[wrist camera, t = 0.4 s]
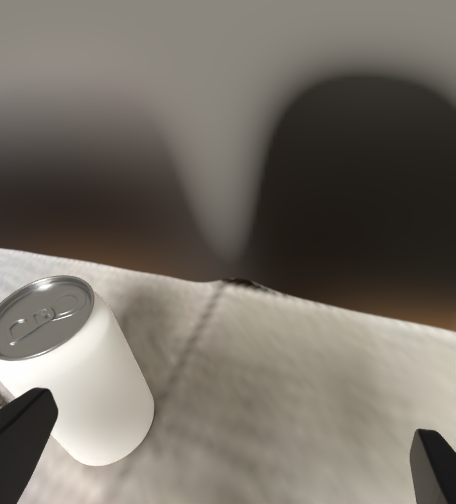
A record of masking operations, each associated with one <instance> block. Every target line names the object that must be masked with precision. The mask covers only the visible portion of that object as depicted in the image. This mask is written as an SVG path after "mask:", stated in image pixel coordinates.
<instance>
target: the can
mask: <svg viewBox="0 0 456 504" xmlns="http://www.w3.org/2000/svg"><path fill="white" fill-rule="evenodd" d="M0 381H1V382H2V384H3V385H4V386H5V387H6V388H7V389H8V390H9V391H10V392H11V393H12V394H13V395H14V396H15V397H16V398H18V397H19V396H21V395H22V394H24V393H25V392H27V391H29V390H30V389H32V388H35V387H40V388H48V389H49V390H51V392H52V394H53V397H54V399H55V402H56V404H57V407H58V418H57V421H56V423H55V425H54V427H53V430H52V432H51V435H52V436H53V437H54V438H55V439H56V440H57V441H58V442H59V444H60V445H61V446H62V447H63V448H64V449H65V450H66V451H67V452H68V453H69V454H70V455H71V456H72V457H74V458H75V459H76V460H77V461H79V462H81V463H83V464H86V465H90V466H103V465H108V464H111V463H114V462H116V461H119V460H120V459H122V458H124V457H126V456H127V455H128V454H130V453H131V452H132V451H133V450H134V449H135V448H136V447H137V446H138V445H139V444H140V443H141V442H142V440H143V439H144V438H145V436H146V434H147V433H148V431H149V429H150V426H151V424H152V420H153V416H154V400H153V397H152V394H151V392H150V389H149V387H148V385H147V383H146V381H145V379H144V377H143V374H142V372H141V370H140V368H139V366H138V364H137V362H136V360H135V358H134V356H133V353H132V351H131V349H130V347H129V345H128V343H127V341H126V339H125V337H124V335H123V333H122V331H121V329H120V327H119V325H118V323H117V320H116V318H115V316H114V314H113V312H112V311H111V309H110V307H109V305H108V304H107V302H106V301H105V299H104V298H103V297H101V296H100V295H99V294H97V293H96V292H94V291H93V290H92V288H91V286H90V285H89V284H88V283H87V282H86V281H84V280H83V279H80V278H78V277H74V276H65V275H62V276H52V277H47V278H44V279H40V280H37V281H35V282H32V283H30V284H28V285H26V286H24V287H22V288H20V289H18V290H17V291H15V292H14V293H12V294H11V295H9V296H8V297H7V298H5V299H4V300H3V301H2V302H1V303H0Z"/></svg>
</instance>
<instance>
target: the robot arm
mask: <svg viewBox="0 0 456 504" xmlns="http://www.w3.org/2000/svg"><path fill="white" fill-rule="evenodd" d="M57 418H58V407H57V404H56V402H55V399H54V397H53V394H52V392H51V390H49V389H48V388H40V387H35V388H32V389H30V390H29V391H27V392H25V393H24V394H22V395H21V396H19V397H18V398H16V399H14V400H13V401H11V402H10V403H8V404H7V405H5V406H3V407H2V408H0V504H17V502H18V500H19V499H20V497H21V495H22V493H23V491H24V489H25V488H26V486H27V484H28V482H29V480H30V478H31V476H32V474H33V472H34V470H35V468H36V465H37V463H38V461H39V459H40V457H41V454H42V452H43V450H44V448H45V445H46V443H47V441H48V439H49V436H50V434H51V432H52V430H53V427H54V425H55V423H56V421H57ZM410 466H411V472H412V478H413V484H414V490H415V496H416V502H417V504H456V452H455V451H454V450H453V449H452V448H451V446H450V445H449V444H448V443H447V442H446V440H445V439H444V438H443V437H442V436H441V435H440V434H439V433H438V432H437V431H434V430H427V429H417V430H416V431H415V433H414V438H413V442H412V446H411V450H410Z"/></svg>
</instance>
